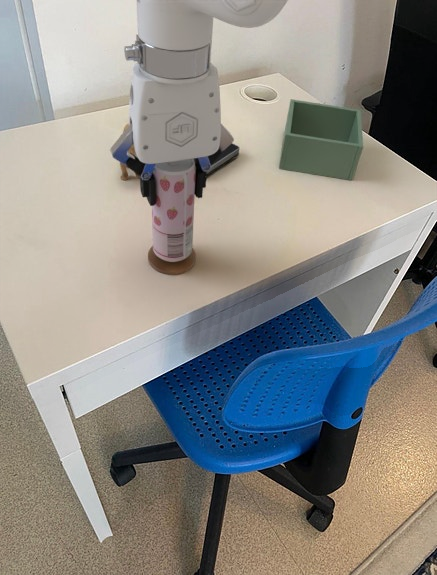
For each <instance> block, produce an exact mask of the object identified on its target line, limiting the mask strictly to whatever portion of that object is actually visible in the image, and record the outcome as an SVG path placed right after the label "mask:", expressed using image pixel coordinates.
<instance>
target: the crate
mask: <svg viewBox="0 0 437 575" xmlns="http://www.w3.org/2000/svg"><path fill="white" fill-rule="evenodd" d="M362 120H363V119H362V110H361V109H356V108H350V107H344V106H338V105H331V104H326V103H325V104H324V103H318V102H312V101H306V100H298V99H291V98H290V101H289V105H288V110H287V115H286V121H285V126H284V131H283V139H282V144H281V152H280V158H279V166H278V169H279V170H285V171H292V172H297V173H304V174H310V175H316V176H322V177H329V178H336V179H341V180H348V181H353V179H354V177H355V173H356V170H357V168H358V165H359V161H360V159H361V155H362V153H363V150H364V137H363V122H362Z"/></svg>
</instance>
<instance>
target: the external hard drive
mask: <svg viewBox="0 0 437 575" xmlns="http://www.w3.org/2000/svg"><path fill="white" fill-rule="evenodd" d="M239 155H240V146H239V145H237V144H236V143H234V142H232V143H231V144H230V145H229V146H228V147H227V148H226V149H225V150H224V151H222V152H221V155H220V156H219V157H218V158H217V159H216V160H215V161H214V162H213V163H212V164H211V168H210V170H209V171H207V176H206V177H208V176H209V175H211V174H212V173H214V172H215V171H217V170H218V169H220V168H221V167H223V166H224V165H226V164H228V163H229V162H230V161H232V160H234V159H236V158H237V157H238V156H239ZM194 159H195V158H194Z"/></svg>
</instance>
